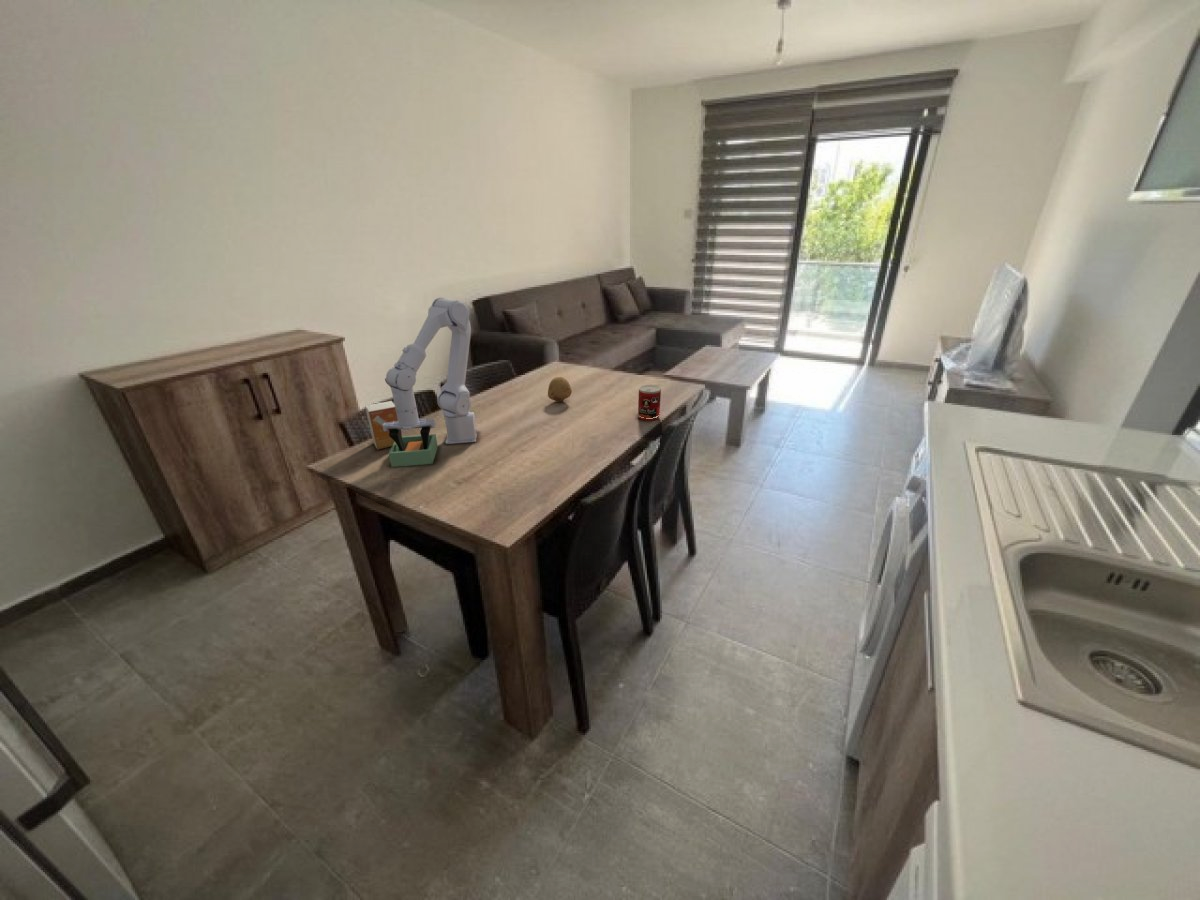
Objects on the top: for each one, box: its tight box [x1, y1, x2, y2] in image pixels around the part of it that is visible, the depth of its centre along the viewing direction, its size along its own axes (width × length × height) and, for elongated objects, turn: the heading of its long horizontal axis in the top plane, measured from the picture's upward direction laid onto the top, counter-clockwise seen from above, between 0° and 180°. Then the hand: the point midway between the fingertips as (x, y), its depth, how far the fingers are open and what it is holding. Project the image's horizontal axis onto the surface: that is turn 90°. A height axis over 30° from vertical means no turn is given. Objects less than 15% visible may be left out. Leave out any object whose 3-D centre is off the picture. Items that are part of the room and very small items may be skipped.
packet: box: [405, 441, 424, 451], centre depth 145 cm, size 4×7×3 cm, turn 10°
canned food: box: [637, 384, 662, 422], centre depth 171 cm, size 8×8×11 cm
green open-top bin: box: [388, 433, 439, 468], centre depth 145 cm, size 12×12×4 cm
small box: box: [364, 400, 398, 451], centre depth 151 cm, size 8×6×13 cm
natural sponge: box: [547, 376, 573, 403], centre depth 185 cm, size 9×9×10 cm
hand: (414, 450), depth 145 cm, fingers open, 6 cm apart
